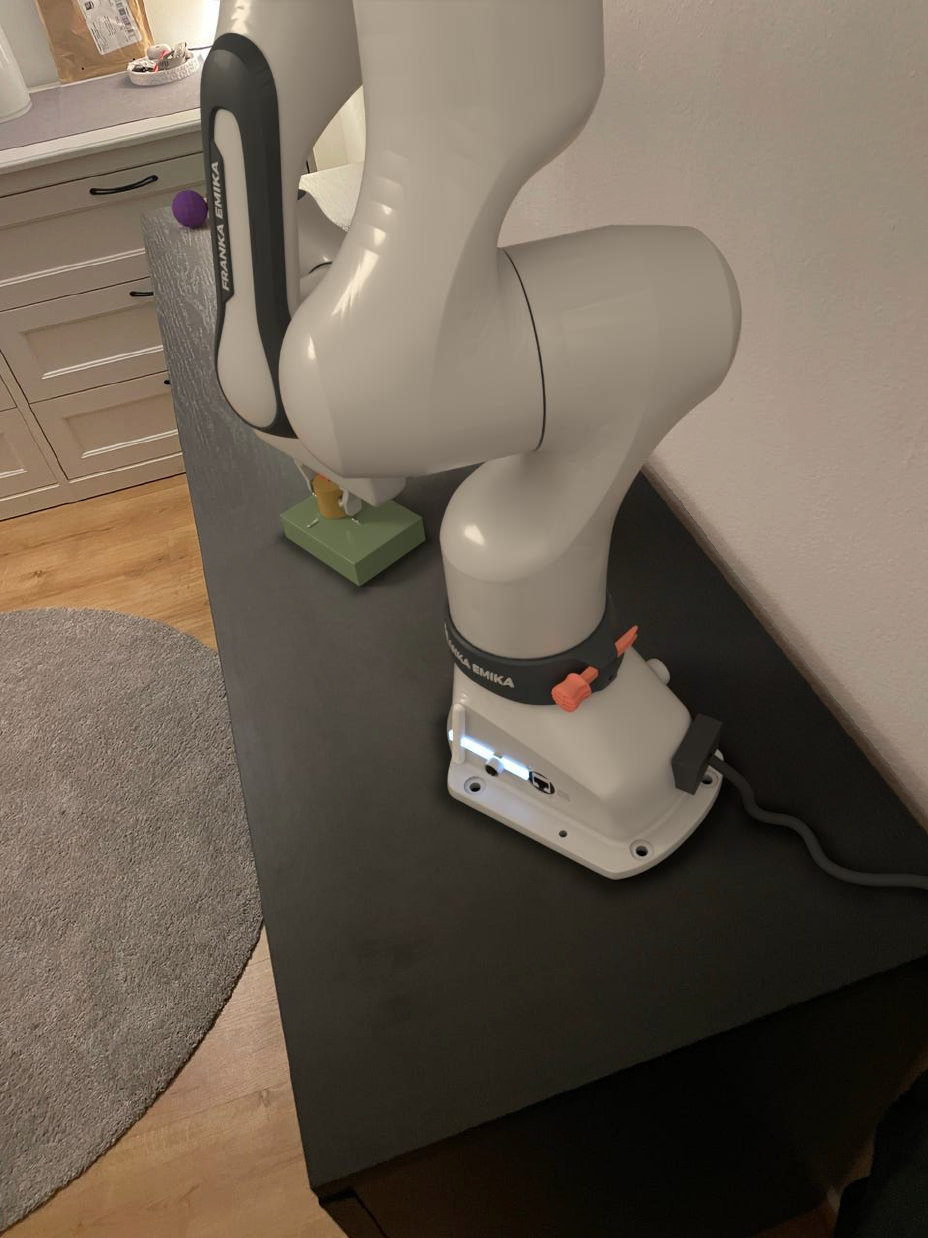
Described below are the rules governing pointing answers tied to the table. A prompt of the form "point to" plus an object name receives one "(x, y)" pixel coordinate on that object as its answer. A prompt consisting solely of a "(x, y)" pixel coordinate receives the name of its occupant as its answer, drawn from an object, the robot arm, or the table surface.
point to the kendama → (190, 208)
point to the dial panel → (355, 536)
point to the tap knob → (328, 497)
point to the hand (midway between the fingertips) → (336, 501)
